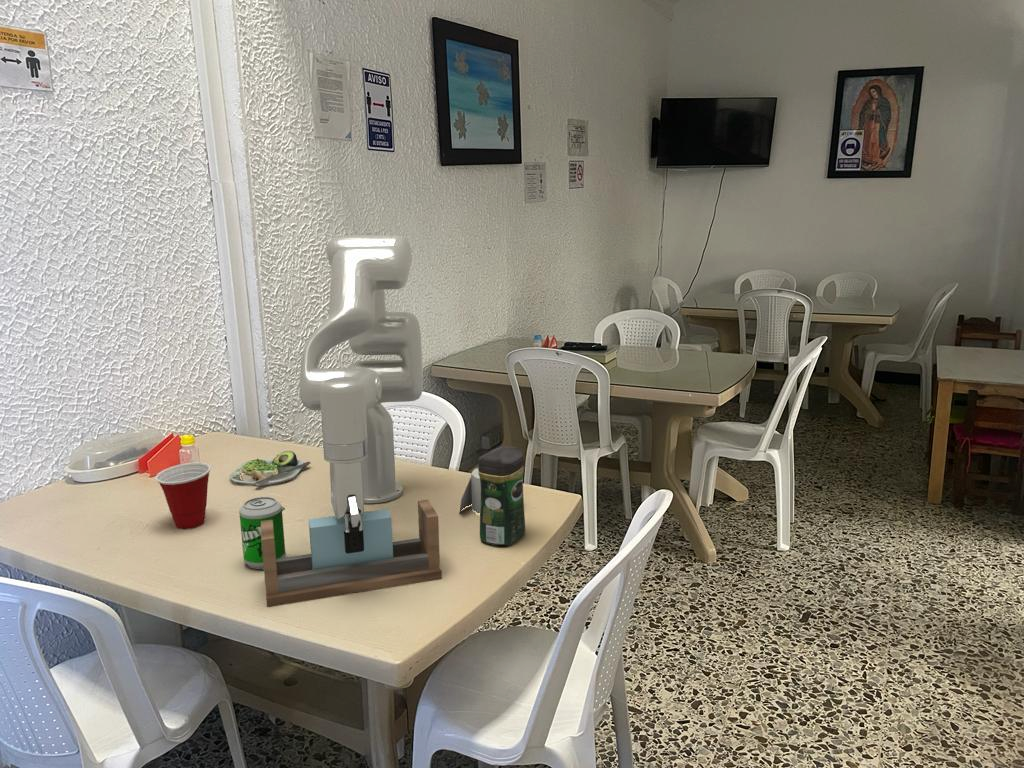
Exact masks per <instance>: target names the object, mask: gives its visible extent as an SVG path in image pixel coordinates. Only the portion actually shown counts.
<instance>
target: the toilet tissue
mask: <svg viewBox="0 0 1024 768" xmlns="http://www.w3.org/2000/svg"><path fill="white" fill-rule="evenodd" d="M471 504H472V507H471V510H472V509H473V510H474V511H476V512H477V513H480V510H481V483H480V477H479V473H478V467H477V468H474V469H473V470H472V471H471V474H470V478H469V480H468V483H467V486H466V487H465V489H464V493H463V495H462V496H461V499H460V506H459V512H460V511H461V510H462V509H463V508H465V507H466V506H469V505H471Z"/></svg>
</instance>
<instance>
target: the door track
mask: <svg viewBox="0 0 1024 768" xmlns="http://www.w3.org/2000/svg"><path fill="white" fill-rule="evenodd" d="M417 515H418V517H417V519H418V538H411V539H403V540H397V541H393V558H391V559H385V560H378V561H371V562H365V563H358V564H351V565H345V566H338V567H331V568H325V569H318V570H312V559H311V553H307V554H299V555H291V556H285V557H284V558H277V559H276V553H275V542H274V530H273V520H265V521H261V541H262V553H263V564H264V569H263V574H264V584H265V585H264V586H265V596H266V597H265V598H266V607H267V608H268V607H269V608H270V607H273V606H281V605H287V604H292V603H298V602H300V603H301V602H306V601H311V600H312V601H313V600H318V599H325V598H329V597H330V598H332V597H337V596H344V595H348V594H350V595H351V594H354V593H361V592H366V591H367V592H368V591H373V590H378V589H379V590H380V589H384V588H391V587H393V588H394V587H398V586H404V585H410V584H416V583H424V582H428V581H429V582H430V581H436V580H441V579H443V576H442V572H443V571H442V569H441V565H440V564H441V563H440V559H441V558H440V534H439V533H440V532H439V529H440V527H439V515H438V513H437V511H436V510H435V509H434V507H433V505H432V503H431V502H430V499H423V500H422V499H421V500H417Z"/></svg>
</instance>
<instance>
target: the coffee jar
mask: <svg viewBox="0 0 1024 768" xmlns="http://www.w3.org/2000/svg"><path fill="white" fill-rule="evenodd" d="M477 461H478V466H477V468H478V473H479V477H480V483H481V510H480V516H479V539H480V540H481V541H482V542H483V543H486V544H487V543H489V544H488V545H490V544H493V545H492V546H494V545H508V546H510V545H509V544H511V543H512V544H514V543H516V542H517V541H518V540H519V539H521V538H522V537H523V536H524V534H525V532H526V521H525V520H526V519H525V518H526V517H525V503H524V471H525V459H524V454H523V452H522V451H521V449H520V448H519V447H515V446H509V445H500V446H499V447H496V448H494V449H492V450H489V451H487V452H486V453H484V454H482V455H481V456H479V457H478V460H477ZM522 535H523V536H522ZM521 536H522V537H521ZM520 537H521V538H520ZM516 540H517V541H516ZM515 541H516V542H515ZM513 542H514V543H513ZM512 544H511V545H512Z"/></svg>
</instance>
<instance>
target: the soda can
mask: <svg viewBox="0 0 1024 768" xmlns="http://www.w3.org/2000/svg"><path fill="white" fill-rule="evenodd" d="M282 508H283V506H282V504H281V502H279V501H278V500H277V499H276V498H275V497H272V496H260V497H252V498H250V499H247V500H246V501H244V503H242V505H241V506H240V508H239V509H238V512H239V523H240V531H241V532H240V534H241V544H242V554H243V555H242V557H243V562H244V563H245V564H246V565H248V566H249V567H250V568H251V569H254V570H264V564H263V553H262V541H261V521H265V520H273V530H274V542H275V553H276V559H277V558H284V557H286V545H285V543H286V542H285V531H284V520H283V509H282Z"/></svg>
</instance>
